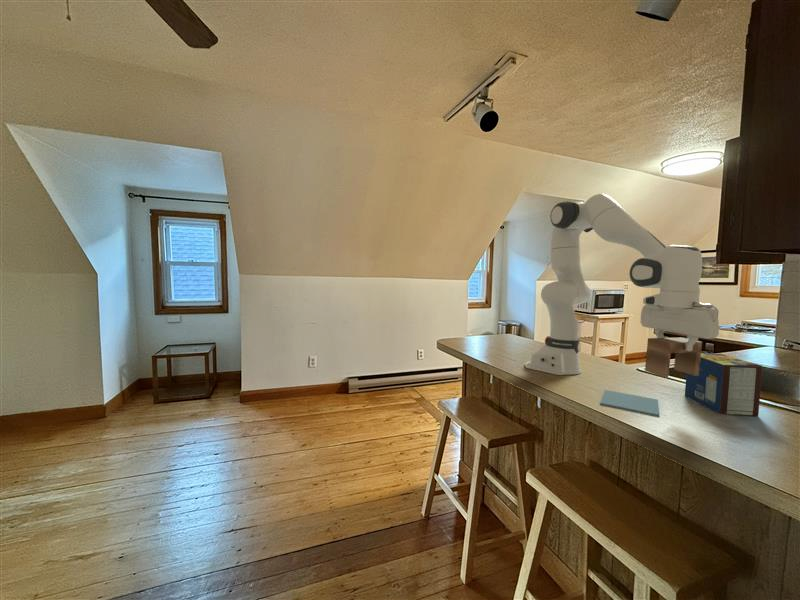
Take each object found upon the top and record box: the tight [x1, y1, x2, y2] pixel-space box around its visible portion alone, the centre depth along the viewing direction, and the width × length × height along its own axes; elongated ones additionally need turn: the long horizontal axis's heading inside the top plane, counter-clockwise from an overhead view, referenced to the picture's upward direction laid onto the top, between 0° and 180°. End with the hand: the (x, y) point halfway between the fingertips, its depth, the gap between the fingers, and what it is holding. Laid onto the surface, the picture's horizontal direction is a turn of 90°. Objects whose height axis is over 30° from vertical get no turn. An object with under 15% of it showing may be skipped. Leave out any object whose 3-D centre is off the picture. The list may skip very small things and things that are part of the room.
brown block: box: [644, 336, 703, 378], centre depth 97 cm, size 10×6×12 cm
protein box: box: [684, 352, 763, 417], centre depth 105 cm, size 10×15×16 cm
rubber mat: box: [599, 389, 660, 418], centre depth 107 cm, size 15×15×1 cm
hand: (674, 347), depth 97 cm, fingers closed on brown block, 6 cm apart
